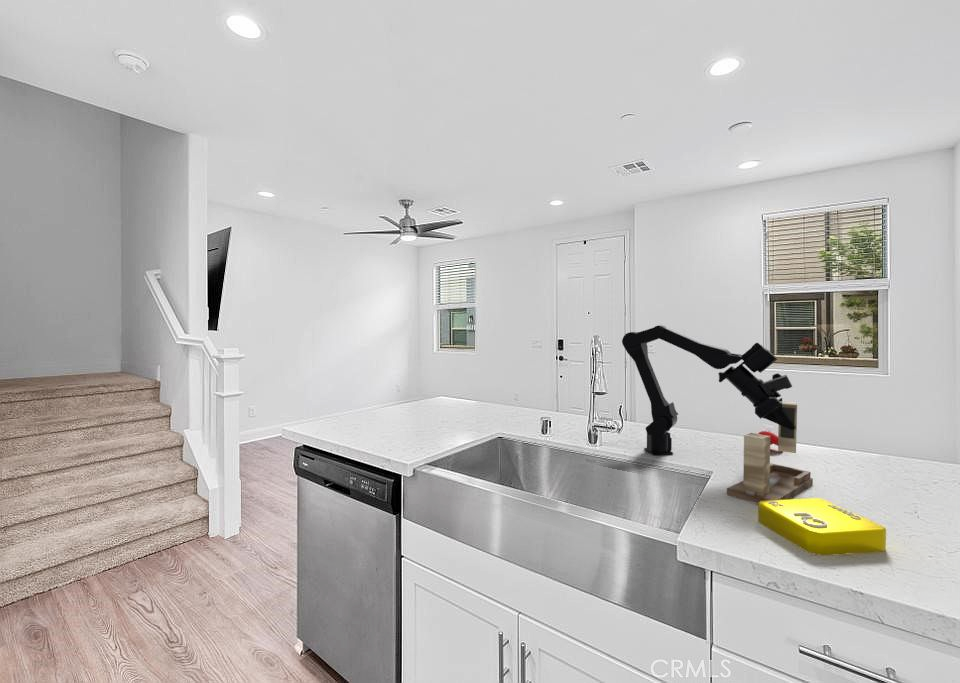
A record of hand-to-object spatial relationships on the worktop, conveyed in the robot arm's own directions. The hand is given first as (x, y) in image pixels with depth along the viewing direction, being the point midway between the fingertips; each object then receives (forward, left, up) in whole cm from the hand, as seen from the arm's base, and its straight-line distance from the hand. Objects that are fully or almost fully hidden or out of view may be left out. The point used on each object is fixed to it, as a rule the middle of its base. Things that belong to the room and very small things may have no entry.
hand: (793, 427), depth 121 cm
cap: (+10, +20, -13) cm, 26 cm away
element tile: (-24, -33, -13) cm, 43 cm away
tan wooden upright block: (-1, +1, -7) cm, 7 cm away
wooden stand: (-15, -10, -12) cm, 22 cm away
